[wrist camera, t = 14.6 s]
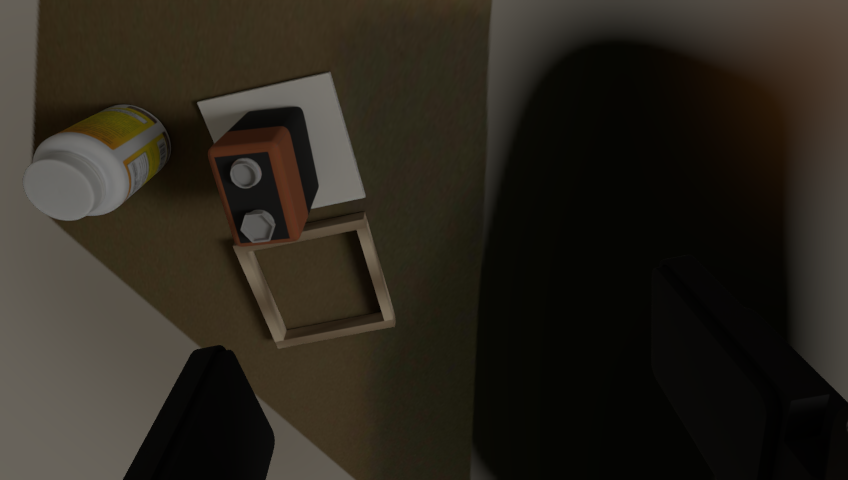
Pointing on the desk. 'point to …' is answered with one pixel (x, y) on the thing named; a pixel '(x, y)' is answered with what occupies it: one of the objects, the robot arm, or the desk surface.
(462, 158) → the desk surface
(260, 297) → the holder frame
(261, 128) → the battery
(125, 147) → the supplement bottle
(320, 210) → the desk surface
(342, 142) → the ceramic pad
